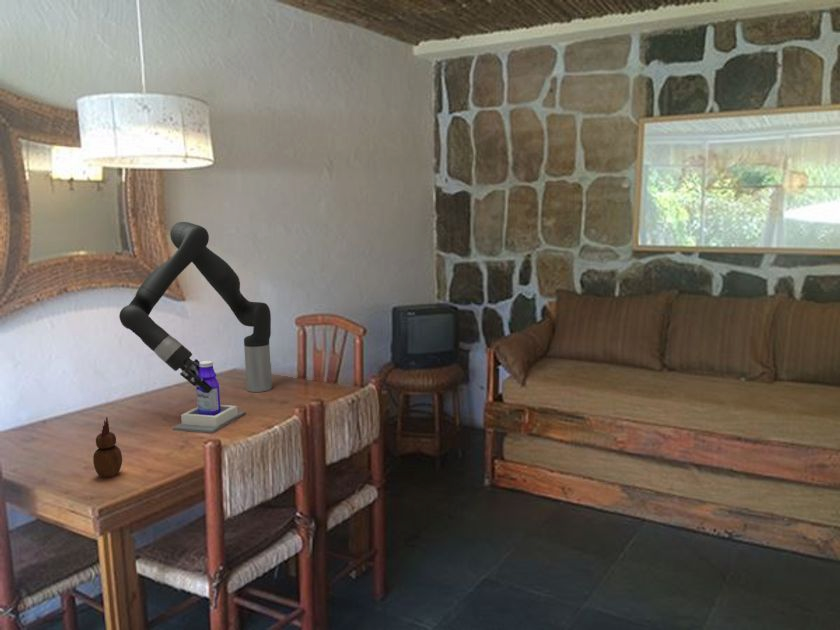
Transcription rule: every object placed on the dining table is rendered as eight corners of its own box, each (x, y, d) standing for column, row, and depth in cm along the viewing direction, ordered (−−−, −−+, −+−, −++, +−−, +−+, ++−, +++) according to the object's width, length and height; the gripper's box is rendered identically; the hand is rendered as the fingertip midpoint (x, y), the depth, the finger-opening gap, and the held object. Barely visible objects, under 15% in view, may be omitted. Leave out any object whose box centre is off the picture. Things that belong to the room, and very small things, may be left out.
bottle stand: (208, 411, 228) (208, 400, 228) (245, 413, 225) (245, 402, 224) (172, 429, 209) (171, 418, 209) (212, 433, 206) (211, 421, 205)
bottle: (194, 415, 216) (191, 362, 213) (207, 410, 221) (204, 359, 218) (211, 418, 212) (208, 365, 210) (224, 413, 217) (221, 361, 215)
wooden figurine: (109, 469, 179) (104, 414, 176) (127, 471, 177) (122, 416, 174) (90, 478, 172) (84, 422, 170) (108, 481, 170) (103, 424, 168)
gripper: (174, 349, 205) (216, 385, 208) (186, 340, 219) (225, 374, 222) (157, 366, 206) (199, 402, 208) (171, 356, 220) (210, 390, 223)
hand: (212, 387), depth 215 cm, fingers closed on bottle, 6 cm apart
